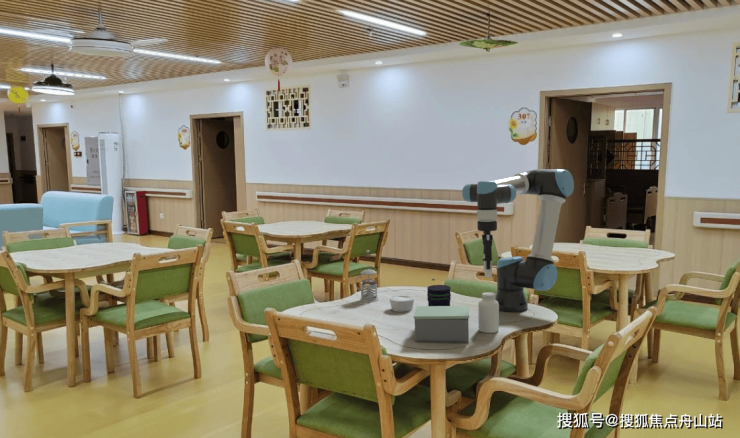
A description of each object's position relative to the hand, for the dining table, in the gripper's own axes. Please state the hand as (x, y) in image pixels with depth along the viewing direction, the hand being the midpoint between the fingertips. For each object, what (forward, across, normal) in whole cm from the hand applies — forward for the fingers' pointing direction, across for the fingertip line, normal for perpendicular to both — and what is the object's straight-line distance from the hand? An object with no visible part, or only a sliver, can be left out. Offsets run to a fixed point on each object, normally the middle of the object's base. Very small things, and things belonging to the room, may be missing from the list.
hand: (487, 274), depth 230 cm
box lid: (+14, +9, -18) cm, 24 cm away
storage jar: (+23, -11, -20) cm, 33 cm away
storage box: (+23, +9, -18) cm, 30 cm away
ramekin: (+23, -31, -38) cm, 54 cm away
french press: (+23, -48, -57) cm, 78 cm away
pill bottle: (+23, 0, 0) cm, 23 cm away
